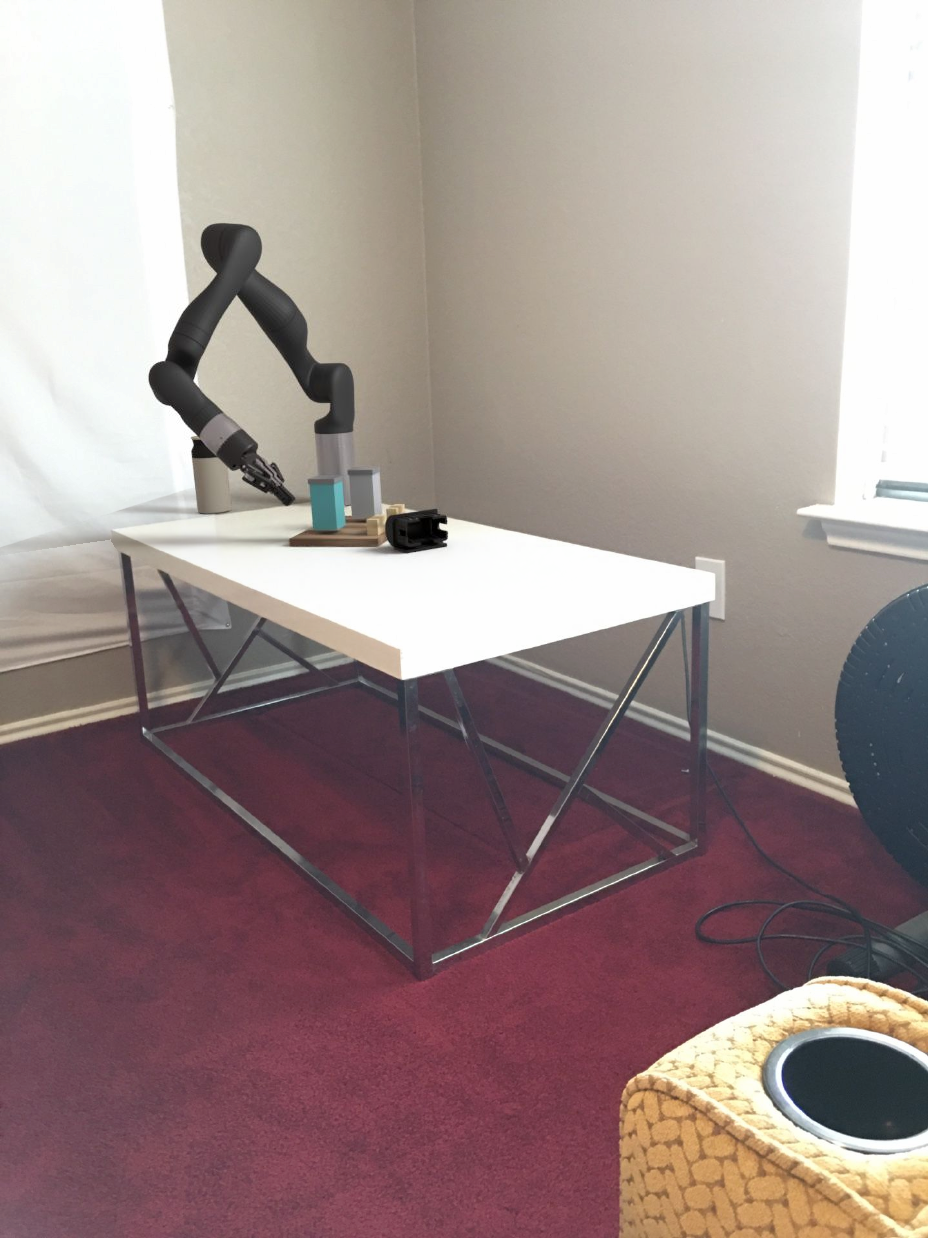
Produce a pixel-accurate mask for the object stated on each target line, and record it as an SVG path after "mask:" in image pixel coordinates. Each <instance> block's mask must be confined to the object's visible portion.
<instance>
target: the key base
mask: <svg viewBox="0 0 928 1238" xmlns="http://www.w3.org/2000/svg"><path fill="white" fill-rule="evenodd" d="M405 507H406V506H405V503H397V504H396V503H394V504H392V505H390V506H389V507H387V508H385V514H381V515H374V516H373V517H371V518H352V515H345V524H346V525H345V526H343V527H341V528H340V529H338V530H313V526H312V527H309V528H308V529H306V530H303V531H301V532H300V533H298V534H296V535H294V536H292V537H290V538H289V539H288V541H289V547H376V548H377V547H380V546H381V545H383V544H384V543H385V542H388V540H387V537H386V533H385V523H386V520H387V518H388V517H389V516H390V515H395V514H402V513H406V511H405V510H406V508H405Z"/></svg>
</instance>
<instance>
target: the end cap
mask: <svg viewBox="0 0 928 1238" xmlns="http://www.w3.org/2000/svg"><path fill="white" fill-rule="evenodd" d="M440 524H442V525H448V516H447V515H446V514H441V513H438V508H431V509H424V510H418V511H417V510H416V511H410V512H405V513H402V514H395V515H390V516H389V517H388V518H387V520H386V523H385V533H386V537H387V542H388V544H389V545H390V546H391V547H393V549H394V550H395V551H397V552H400V553H405V554H412V553H418V552H419V553H420V552H423V551H430V550H436V549H441V548H447V547H448V543H447V542H445V541H447V540H448V539H449V531H448V530H445V529H442V528H440Z"/></svg>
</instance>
